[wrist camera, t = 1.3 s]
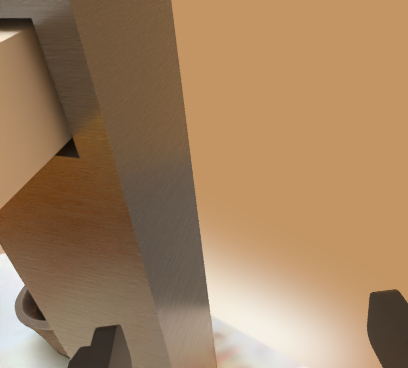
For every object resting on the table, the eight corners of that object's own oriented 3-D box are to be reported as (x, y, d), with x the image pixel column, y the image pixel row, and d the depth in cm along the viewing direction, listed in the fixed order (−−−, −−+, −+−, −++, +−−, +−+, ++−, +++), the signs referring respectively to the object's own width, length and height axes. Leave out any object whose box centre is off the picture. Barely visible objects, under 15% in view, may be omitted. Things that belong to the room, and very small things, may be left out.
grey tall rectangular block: (108, 421, 34) (-159, -17, 12) (140, 347, 39) (-5, -54, 17) (194, 449, 32) (63, -24, 10) (216, 366, 37) (162, -64, 15)
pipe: (66, 273, 47) (44, 227, 42) (118, 348, 39) (98, 302, 34) (17, 303, 44) (-13, 257, 39) (62, 389, 36) (31, 346, 31)
